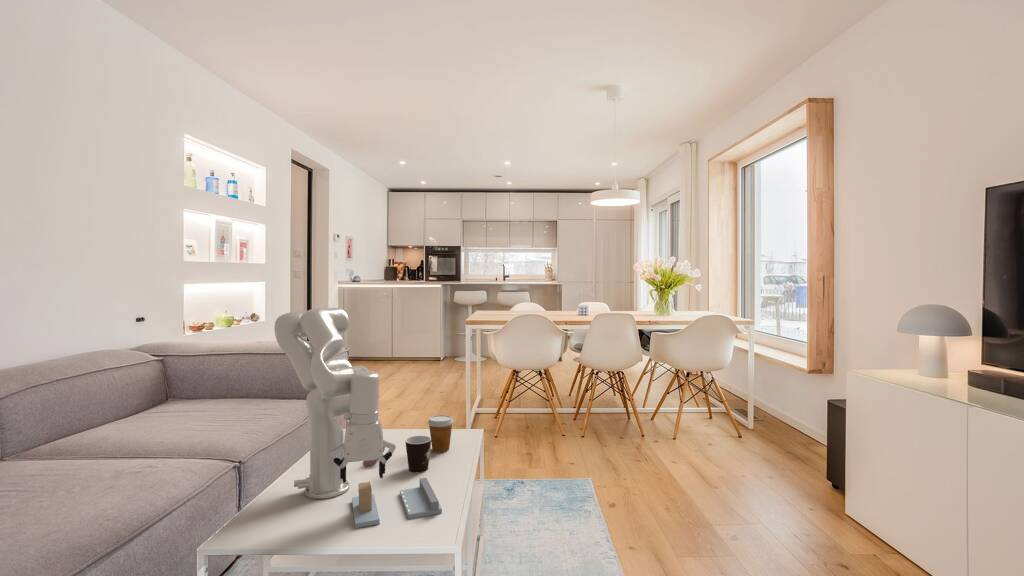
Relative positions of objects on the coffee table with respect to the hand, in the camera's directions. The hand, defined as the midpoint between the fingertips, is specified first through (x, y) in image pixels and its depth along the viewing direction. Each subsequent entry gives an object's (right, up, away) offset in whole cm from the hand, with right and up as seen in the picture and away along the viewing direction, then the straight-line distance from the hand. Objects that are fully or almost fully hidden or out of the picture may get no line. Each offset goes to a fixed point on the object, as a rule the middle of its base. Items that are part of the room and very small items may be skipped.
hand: (362, 478), depth 132 cm
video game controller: (-7, -9, +37) cm, 39 cm away
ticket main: (+15, -9, +5) cm, 18 cm away
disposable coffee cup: (+14, -9, +49) cm, 51 cm away
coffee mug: (+10, -9, +31) cm, 34 cm away
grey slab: (+1, -9, -1) cm, 9 cm away
